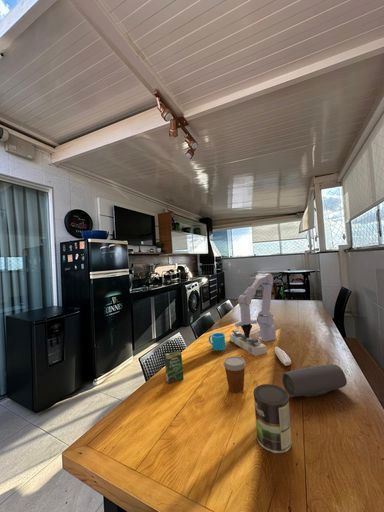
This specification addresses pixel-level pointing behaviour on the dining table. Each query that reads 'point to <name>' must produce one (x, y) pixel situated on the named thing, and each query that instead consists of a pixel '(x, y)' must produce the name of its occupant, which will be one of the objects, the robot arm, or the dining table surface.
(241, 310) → the robot arm
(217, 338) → the mug
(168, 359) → the coffee box
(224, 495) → the dining table surface
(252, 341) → the rocker slate
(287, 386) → the bluetooth speaker
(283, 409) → the coffee can
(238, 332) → the dark grey block
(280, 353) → the white corn cob
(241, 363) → the disposable coffee cup
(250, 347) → the power strip
